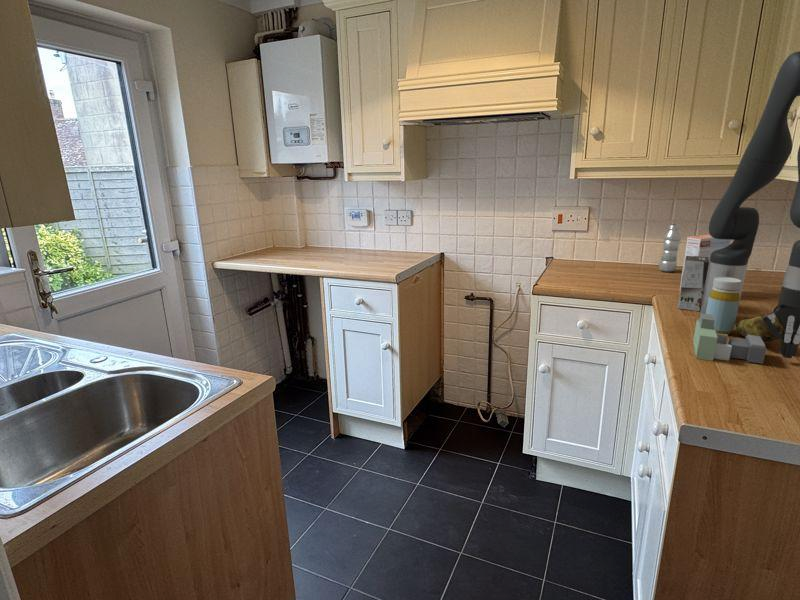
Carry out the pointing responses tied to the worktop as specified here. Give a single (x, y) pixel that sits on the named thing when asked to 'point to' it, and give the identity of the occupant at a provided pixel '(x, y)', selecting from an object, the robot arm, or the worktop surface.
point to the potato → (757, 329)
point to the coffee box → (693, 282)
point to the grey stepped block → (748, 348)
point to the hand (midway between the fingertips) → (786, 356)
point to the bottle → (724, 303)
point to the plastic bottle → (670, 249)
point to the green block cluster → (710, 340)
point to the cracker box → (703, 247)
